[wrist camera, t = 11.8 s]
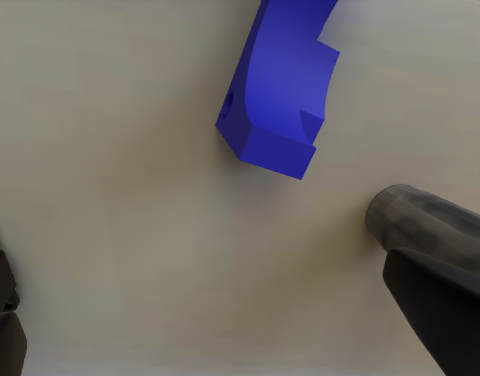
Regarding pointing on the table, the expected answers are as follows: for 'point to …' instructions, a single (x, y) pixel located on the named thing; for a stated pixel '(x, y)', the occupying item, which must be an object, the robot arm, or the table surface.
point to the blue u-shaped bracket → (280, 87)
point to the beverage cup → (426, 226)
